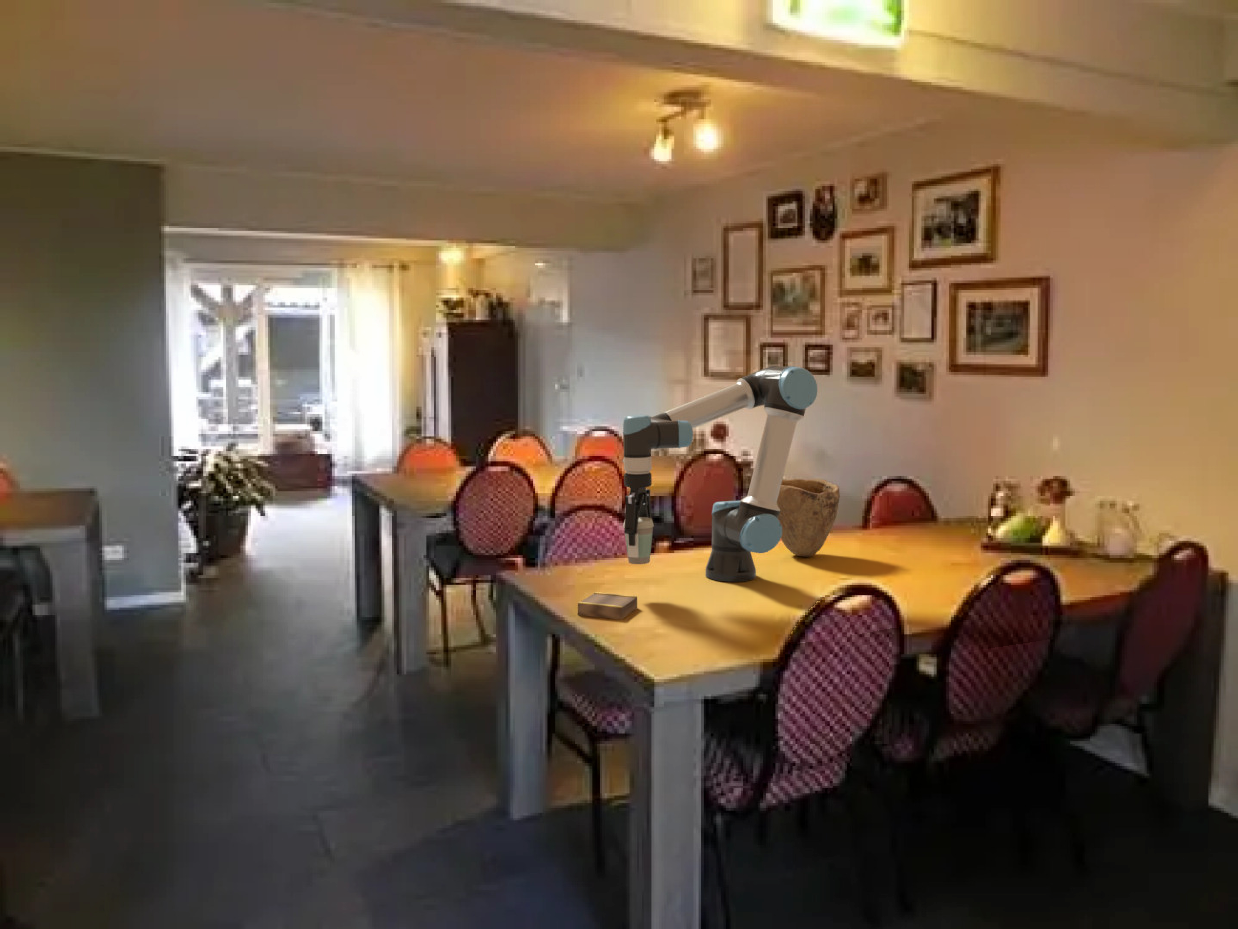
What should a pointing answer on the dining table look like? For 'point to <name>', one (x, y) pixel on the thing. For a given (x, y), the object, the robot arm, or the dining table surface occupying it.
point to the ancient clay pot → (807, 513)
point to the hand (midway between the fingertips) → (639, 553)
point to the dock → (607, 605)
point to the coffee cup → (642, 540)
